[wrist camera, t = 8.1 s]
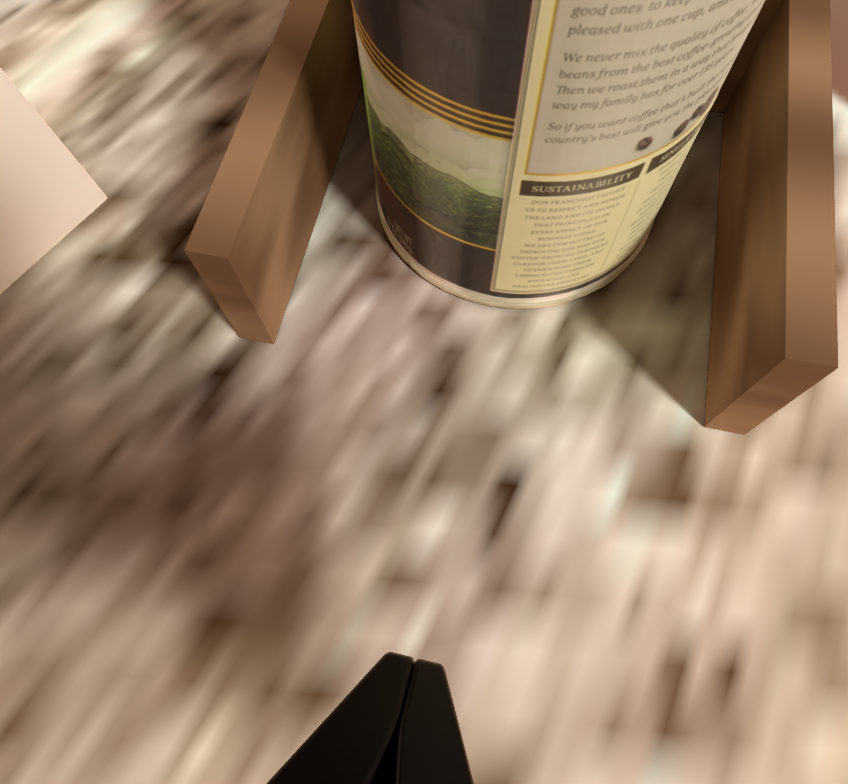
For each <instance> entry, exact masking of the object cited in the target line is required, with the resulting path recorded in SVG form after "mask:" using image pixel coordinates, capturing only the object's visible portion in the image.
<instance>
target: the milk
mask: <svg viewBox="0 0 848 784" xmlns="http://www.w3.org/2000/svg"><path fill="white" fill-rule="evenodd" d="M106 199H107V196H106V195H105V194H104V193H103V192H102V190H101V189H100V188H99V187H98V186H97V184H96V183H95V182H94V181H93V179H92V178H91V177H90V176H89V175H88V173H87V172H86V171H85V170H84V169H83V167H82V166H81V165H80V164H79V162H78V161H77V160H76V159H75V158H74V156H73V155H72V154H71V153H70V151H69V150H68V149H67V148H66V147H65V145H64V144H63V143H62V142H61V141H60V139H59V138H58V137H57V136H56V134H55V133H54V132H53V131H52V130H51V128H50V127H49V126H48V125H47V124H46V122H45V121H44V120H43V119H42V117H41V116H40V115H39V114H38V113H37V111H36V110H35V109H34V108H33V107H32V105H31V104H30V103H29V102H28V100H27V99H26V98H25V97H24V96H23V94H22V93H21V92H20V91H19V90H18V88H17V87H16V86H15V85H14V83H13V82H12V81H11V80H10V79H9V77H8V76H7V75H6V74H5V72H4V71H3V70H2V69H1V68H0V294H1V293H2V292H4V291H5V290H6V289H7V288H8V287H9V286H10V285H11V284H12V283H14V282H15V281H16V280H17V279H18V278H19V277H20V276H21V275H22V274H24V273H25V272H26V271H27V270H28V269H29V268H30V267H31V266H33V265H34V264H35V263H36V262H37V261H38V260H39V259H40V258H41V257H43V256H44V255H45V254H46V253H47V252H48V251H49V250H50V249H51V248H53V247H54V246H55V245H56V244H57V243H58V242H59V241H60V240H62V239H63V238H64V237H65V236H66V235H67V234H68V233H69V232H70V231H72V230H73V229H74V228H75V227H76V226H77V225H78V224H79V223H81V222H82V221H83V220H84V219H85V218H86V217H87V216H88V215H89V214H91V213H92V212H93V211H94V210H95V209H96V208H97V207H98V206H99V205H101V204H102V203H103V202H104V201H105V200H106Z"/></svg>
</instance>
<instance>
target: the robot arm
mask: <svg viewBox="0 0 848 784" xmlns="http://www.w3.org/2000/svg"><path fill="white" fill-rule="evenodd" d="M267 784H474V782H473V779H472V775H471V771H470V767H469V763H468V759H467V755H466V751H465V747H464V743H463V739H462V735H461V731H460V727H459V723H458V719H457V716H456V712H455V708H454V704H453V700H452V696H451V692H450V688H449V684H448V680H447V676H446V672H445V669H444V667H443V666H442V665H441V664H439V663H434V662H430V661H426V660H422V659H418V660H416V661H415V664H414V659H413V658H412V657H410V656H405V655H401V654H397V653H393V652H389V653H386V654H385V655H384V656H383V657H382V658H381V659H380V660H379V661H378V662H377V663H376V665H375V666H374V667H373V668H372V669H371V670H370V671H369V672H368V673H367V674H366V675H365V677H364V678H363V679H362V680H361V681H360V682H359V683H358V684H357V685H356V686H355V688H354V689H353V690H352V691H351V692H350V693H349V694H348V695H347V696H346V697H345V698H344V700H343V701H342V702H341V703H340V704H339V705H338V706H337V707H336V708H335V709H334V711H333V712H332V713H331V714H330V715H329V716H328V717H327V718H326V719H325V720H324V721H323V723H322V724H321V725H320V726H319V727H318V728H317V729H316V730H315V731H314V732H313V733H312V735H311V736H310V737H309V738H308V739H307V740H306V741H305V742H304V743H303V744H302V746H301V747H300V748H299V749H298V750H297V751H296V752H295V753H294V754H293V755H292V756H291V758H290V759H289V760H288V761H287V762H286V763H285V764H284V765H283V766H282V767H281V768H280V770H279V771H278V772H277V773H276V774H275V775H274V776H273V777H272V778H271V779H270V781H269V782H268V783H267Z"/></svg>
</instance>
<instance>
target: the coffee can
mask: <svg viewBox="0 0 848 784" xmlns="http://www.w3.org/2000/svg"><path fill="white" fill-rule="evenodd" d="M764 2H765V0H351V3H352V9H353V17H354V24H355V31H356V38H357V45H358V52H359V59H360V66H361V73H362V80H363V88H364V95H365V103H366V110H367V118H368V125H369V133H370V139H371V150H372V156H373V163H374V171H375V179H376V188H375V191H376V203H377V208H378V213H379V216H380V220H381V223H382V225H383V228H384V230H385V232H386V235H387V237H388V239H389V241H390V242H391V244H392V245H393V247H394V249H395V250H396V252H397V253H398V254H399V255H400V257H401V258H402V259H403V260H404V261H405V262H406V263H407V264H408V265H409V266H410V267H411V268H412V269H413V270H414V271H415V272H417V273H418V274H419V275H420V276H422V277H423V278H424V279H426V280H427V281H429V282H430V283H432V284H433V285H435V286H437V287H438V288H440V289H442V290H444V291H446V292H448V293H450V294H452V295H455V296H457V297H459V298H462V299H464V300H468V301H471V302H474V303H478V304H482V305H486V306H490V307H497V308H505V309H532V308H542V307H549V306H554V305H558V304H562V303H567V302H570V301H573V300H575V299H578V298H581V297H583V296H586V295H588V294H590V293H592V292H594V291H597V290H598V289H600V288H603V287H604V286H606V285H607V284H609V283H610V282H611V281H612V280H614V279H615V278H616V277H617V276H618V275H619V274H620V273H621V272H623V271H624V270H625V269H626V268H627V267H628V266H629V265H630V264H631V263H632V261H633V260H634V259H635V258H636V256H637V255H638V254H639V252H640V251H641V250H642V248H643V247H644V245H645V243H646V241H647V239H648V237H649V234H650V232H651V229H652V227H653V223H654V220H655V217H656V215H657V213H658V211H659V209H660V208H661V206H662V204H663V202H664V200H665V198H666V196H667V194H668V192H669V190H670V188H671V186H672V184H673V182H674V180H675V178H676V176H677V174H678V172H679V170H680V168H681V166H682V164H683V162H684V160H685V158H686V156H687V154H688V152H689V150H690V148H691V146H692V144H693V142H694V140H695V138H696V136H697V134H698V132H699V130H700V128H701V126H702V124H703V122H704V120H705V118H706V116H707V114H708V113H709V111H710V109H711V107H712V105H713V103H714V101H715V99H716V98H717V96H718V93H719V91H720V89H721V87H722V85H723V83H724V81H725V79H726V77H727V75H728V73H729V71H730V69H731V67H732V65H733V63H734V61H735V59H736V57H737V55H738V53H739V51H740V49H741V47H742V45H743V43H744V41H745V39H746V37H747V35H748V33H749V31H750V30H751V28H752V26H753V24H754V22H755V20H756V18H757V16H758V14H759V12H760V10H761V8H762V6H763V4H764Z"/></svg>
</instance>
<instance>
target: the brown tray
mask: <svg viewBox="0 0 848 784" xmlns="http://www.w3.org/2000/svg"><path fill="white" fill-rule="evenodd" d="M362 85H363V80H362V73H361V66H360V59H359V52H358V45H357V38H356V31H355V24H354V17H353V9H352V3H351V0H290V3H289V5H288V7H287V10H286V12H285V14H284V17H283V19H282V21H281V24H280V26H279V28H278V31H277V33H276V35H275V38H274V40H273V43H272V45H271V47H270V50H269V52H268V54H267V57H266V59H265V61H264V64H263V66H262V68H261V71H260V73H259V75H258V78H257V80H256V82H255V85H254V87H253V90H252V92H251V94H250V97H249V99H248V101H247V104H246V106H245V108H244V111H243V113H242V115H241V118H240V120H239V122H238V125H237V127H236V129H235V132H234V134H233V137H232V139H231V141H230V144H229V146H228V148H227V151H226V153H225V155H224V158H223V160H222V162H221V165H220V167H219V169H218V172H217V174H216V176H215V179H214V181H213V184H212V186H211V188H210V191H209V193H208V195H207V198H206V200H205V202H204V205H203V207H202V209H201V212H200V214H199V216H198V219H197V221H196V223H195V226H194V228H193V231H192V233H191V235H190V238H189V240H188V242H187V245H186V247H185V249H184V251H185V253H186V254H187V256H188V257H189V259H190V261H191V262H192V264H193V265H194V267H195V268H196V270H197V271H198V273H199V275H200V276H201V278H202V279H203V281H204V282H205V284H206V286H207V287H208V289H209V290H210V292H211V293H212V295H213V296H214V298H215V300H216V301H217V303H218V304H219V306H220V307H221V309H222V311H223V312H224V314H225V315H226V317H227V318H228V320H229V321H230V323H231V325H232V326H233V328H234V329H235V331H236V332H237V334H238V336H239V337H240V338H245V339H250V340H256V341H261V342H266V343H271V344H274V342H275V339H276V336H277V334H278V331H279V328H280V325H281V322H282V319H283V316H284V313H285V310H286V307H287V304H288V301H289V298H290V296H291V293H292V290H293V287H294V284H295V281H296V278H297V275H298V272H299V269H300V266H301V263H302V260H303V257H304V255H305V252H306V249H307V246H308V243H309V240H310V237H311V234H312V231H313V228H314V225H315V222H316V219H317V217H318V214H319V211H320V208H321V205H322V202H323V199H324V196H325V193H326V190H327V187H328V184H329V181H330V178H331V176H332V173H333V170H334V167H335V164H336V161H337V158H338V155H339V152H340V149H341V146H342V143H343V140H344V138H345V135H346V132H347V129H348V126H349V123H350V120H351V117H352V114H353V111H354V108H355V105H356V102H357V99H358V97H359V94H360V91H361V88H362ZM710 111H715V112H722V113H723V130H722V146H721V163H720V179H719V196H718V212H717V229H716V245H715V262H714V278H713V295H712V311H711V328H710V344H709V361H708V377H707V394H706V410H705V427H708V428H713V429H718V430H723V431H728V432H734V433H739V434H746V433H747V432H749V431H750V430H751V429H753V428H754V427H756V426H757V425H758V424H760V423H761V422H763V421H764V420H765V419H767V418H768V417H770V416H771V415H772V414H774V413H775V412H777V411H778V410H779V409H781V408H782V407H784V406H785V405H787V404H788V403H789V402H791V401H792V400H794V399H795V398H796V397H798V396H799V395H801V394H802V393H803V392H805V391H806V390H808V389H809V388H810V387H812V386H813V385H815V384H816V383H817V382H819V381H820V380H822V379H823V378H824V377H826V376H827V375H829V374H830V373H831V372H833V371H834V370H836V369H837V368H838V341H837V296H836V250H835V205H834V160H833V114H832V70H831V25H830V0H765V2H764V4H763V6H762V8H761V10H760V12H759V14H758V16H757V18H756V20H755V22H754V24H753V26H752V28H751V30H750V31H749V33H748V35H747V37H746V39H745V41H744V43H743V45H742V47H741V49H740V51H739V53H738V55H737V57H736V59H735V61H734V63H733V65H732V67H731V69H730V71H729V73H728V75H727V77H726V79H725V81H724V83H723V85H722V87H721V89H720V91H719V93H718V96H717V98H716V99H715V101H714V103H713V105H712V107H711V109H710Z"/></svg>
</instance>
